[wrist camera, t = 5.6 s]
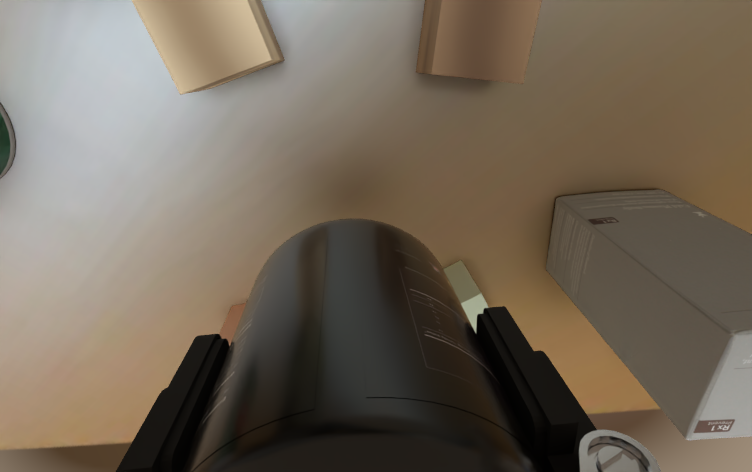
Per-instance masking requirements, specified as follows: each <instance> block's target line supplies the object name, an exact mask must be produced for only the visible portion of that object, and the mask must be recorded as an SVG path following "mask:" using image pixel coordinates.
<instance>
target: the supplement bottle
mask: <svg viewBox="0 0 752 472" xmlns="http://www.w3.org/2000/svg"><path fill="white" fill-rule="evenodd" d="M181 472H544V469H543V467H542V465H541V463H540V461H539V459H538V457H537V455H536V453H535V451H534V449H533V447H532V445H531V443H530V441H529V439H528V437H527V435H526V433H525V431H524V429H523V427H522V425H521V423H520V421H519V419H518V417H517V415H516V413H515V411H514V409H513V407H512V405H511V403H510V401H509V399H508V397H507V395H506V393H505V391H504V389H503V387H502V385H501V383H500V381H499V379H498V377H497V375H496V373H495V371H494V369H493V367H492V365H491V363H490V361H489V359H488V357H487V355H486V353H485V351H484V349H483V347H482V345H481V343H480V341H479V339H478V337H477V335H476V333H475V331H474V329H473V327H472V325H471V323H470V321H469V319H468V317H467V315H466V313H465V311H464V309H463V307H462V305H461V303H460V301H459V299H458V297H457V295H456V293H455V291H454V289H453V287H452V285H451V283H450V281H449V279H448V277H447V276H446V274H445V272H444V270H443V268H442V267H441V265H440V263H439V262H438V260H437V259H436V258H435V256H434V255H433V254H432V252H431V251H430V250H429V249H428V248H427V247H426V246H425V245H424V244H423V243H421V242H420V241H419V240H418V239H416V238H415V237H413V236H412V235H410V234H409V233H407V232H405V231H403V230H401V229H399V228H397V227H394V226H392V225H389V224H386V223H383V222H378V221H374V220H367V219H340V220H333V221H328V222H324V223H321V224H318V225H315V226H312V227H310V228H308V229H305V230H303V231H301V232H300V233H298V234H296V235H294V236H293V237H291V238H290V239H289V240H287V241H286V242H284V243H283V244H282V245H281V246H280V247H279V248H278V249H276V251H275V252H274V253H273V254H272V255H271V256H270V257H269V259H268V260H267V262H266V263H265V264H264V266H263V268H262V269H261V271H260V273H259V275H258V277H257V279H256V281H255V284H254V286H253V288H252V291H251V293H250V295H249V298H248V300H247V303H246V305H245V308H244V310H243V313H242V316H241V318H240V321H239V323H238V326H237V328H236V331H235V334H234V336H233V339H232V341H231V344H230V346H229V349H228V352H227V354H226V357H225V359H224V362H223V365H222V367H221V370H220V372H219V375H218V377H217V380H216V383H215V385H214V388H213V390H212V393H211V395H210V398H209V401H208V403H207V406H206V408H205V411H204V413H203V416H202V419H201V421H200V424H199V426H198V429H197V431H196V434H195V437H194V439H193V442H192V444H191V447H190V449H189V452H188V455H187V457H186V460H185V462H184V465H183V468H182V470H181Z"/></svg>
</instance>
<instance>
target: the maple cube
mask: <svg viewBox="0 0 752 472" xmlns="http://www.w3.org/2000/svg"><path fill="white" fill-rule="evenodd" d="M132 2H133V4H134V6H135V8H136V10H137V11H138V13H139V15H140V17H141V19H142V21H143V23H144V25H145V27H146V29H147V31H148V33H149V35H150V37H151V39H152V40H153V42H154V44H155V46H156V48H157V50H158V52H159V54H160V56H161V58H162V60H163V62H164V64H165V66H166V68H167V69H168V71H169V73H170V75H171V77H172V79H173V81H174V83H175V85H176V87H177V89H178V91H179V93H180V95H181V94H186V93H191V92H196V91H201V90H206V89H211V88H213V87H216V86H218V85H221V84H224V83H226V82H229V81H232V80H234V79H237V78H239V77H242V76H245V75H247V74H250V73H253V72H255V71H258V70H260V69H263V68H266V67H268V66H271V65H274V64H276V63H279V62H281V61H284V57H283V55H282V52H281V50H280V47H279V45H278V42H277V40H276V37H275V35H274V32H273V30H272V27H271V25H270V22H269V20H268V17H267V15H266V12H265V10H264V7H263V5H262V2H261V0H132Z"/></svg>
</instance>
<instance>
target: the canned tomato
mask: <svg viewBox="0 0 752 472" xmlns="http://www.w3.org/2000/svg"><path fill="white" fill-rule="evenodd" d="M14 155H15V138H14V131H13V129H12V126H11V123H10V120H9V118H8V116H7V114H6V112H5V111H4V109H3V107H2V105H1V104H0V178H1V177H2V176H3V175H5V174H6V172H7V171H8V169H9V168H10V166H11V164H12V161H13V158H14Z"/></svg>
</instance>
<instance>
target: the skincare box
mask: <svg viewBox="0 0 752 472" xmlns="http://www.w3.org/2000/svg"><path fill="white" fill-rule="evenodd" d="M546 271H548V272H549V274H550V275H551V276H552V277H553V278H554V280H555V281H556V282H557V283H558V285H559V286H560V287H561V288H562V289H563V291H564V292H565V293H566V294H567V296H568V297H569V298H570V299H571V300H572V302H573V303H574V304H575V305H576V306H577V308H578V309H579V310H580V311H581V312H582V314H583V315H584V316H585V317H586V318H587V320H588V321H589V322H590V323H591V324H592V326H593V327H594V328H595V329H596V330H597V332H598V333H599V334H600V335H601V336H602V338H603V339H604V340H605V341H606V342H607V344H608V345H609V346H610V347H611V348H612V349H613V351H614V352H615V353H616V354H617V356H618V357H619V358H620V359H621V360H622V362H623V363H624V364H625V365H626V366H627V367H628V369H629V370H630V371H631V373H632V374H633V375H634V376H635V378H636V379H637V380H638V381H639V382H640V384H641V385H642V386H643V387H644V388H645V390H646V391H647V392H648V393H649V395H650V396H651V397H652V398H653V400H654V401H655V402H656V403H657V404H658V406H659V407H660V408H661V409H662V410H663V411H664V413H665V414H666V415H667V417H668V418H669V419H670V420H671V421H672V423H673V424H674V425H675V426H676V427H677V429H678V430H679V431H680V433H681V434H682V435H683V436H684V438H685V439H687V440H696V439H711V438H729V437H749V436H750V437H751V436H752V234H750V233H748V232H746V231H744V230H742V229H740V228H738V227H736V226H734V225H732V224H730V223H728V222H726V221H724V220H722V219H720V218H718V217H716V216H714V215H712V214H710V213H708V212H706V211H704V210H702V209H700V208H698V207H696V206H694V205H692V204H690V203H688V202H686V201H684V200H682V199H680V198H678V197H676V196H674V195H672V194H670V193H669V192H667V191H665V190H659V189H657V190H639V191H617V192H603V193H590V194H580V195H571V196H562V197H559V198H557V199H556V204H555V210H554V218H553V225H552V232H551V238H550V244H549V250H548V257H547V264H546Z"/></svg>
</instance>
